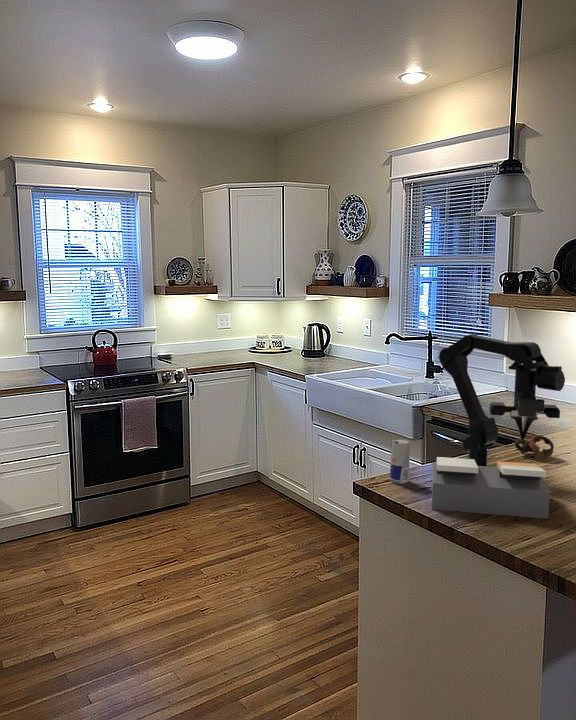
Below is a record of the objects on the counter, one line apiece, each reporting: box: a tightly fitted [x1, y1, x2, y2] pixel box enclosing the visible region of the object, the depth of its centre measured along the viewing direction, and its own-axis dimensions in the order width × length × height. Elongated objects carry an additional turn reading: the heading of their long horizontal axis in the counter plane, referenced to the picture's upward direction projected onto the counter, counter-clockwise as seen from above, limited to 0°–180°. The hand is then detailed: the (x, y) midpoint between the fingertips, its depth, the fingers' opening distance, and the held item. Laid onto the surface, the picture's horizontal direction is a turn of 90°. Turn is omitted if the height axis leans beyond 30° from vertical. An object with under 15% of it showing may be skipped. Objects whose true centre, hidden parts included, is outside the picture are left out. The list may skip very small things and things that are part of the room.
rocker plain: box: [436, 456, 478, 473], centre depth 170 cm, size 16×10×1 cm, turn 167°
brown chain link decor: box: [514, 434, 555, 462], centre depth 210 cm, size 12×10×8 cm
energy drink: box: [389, 438, 411, 485], centre depth 185 cm, size 5×5×12 cm
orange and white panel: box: [496, 461, 547, 478], centre depth 166 cm, size 16×10×1 cm, turn 167°
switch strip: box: [431, 462, 551, 520], centre depth 169 cm, size 18×28×8 cm, turn 77°
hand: (522, 438), depth 187 cm, fingers closed
